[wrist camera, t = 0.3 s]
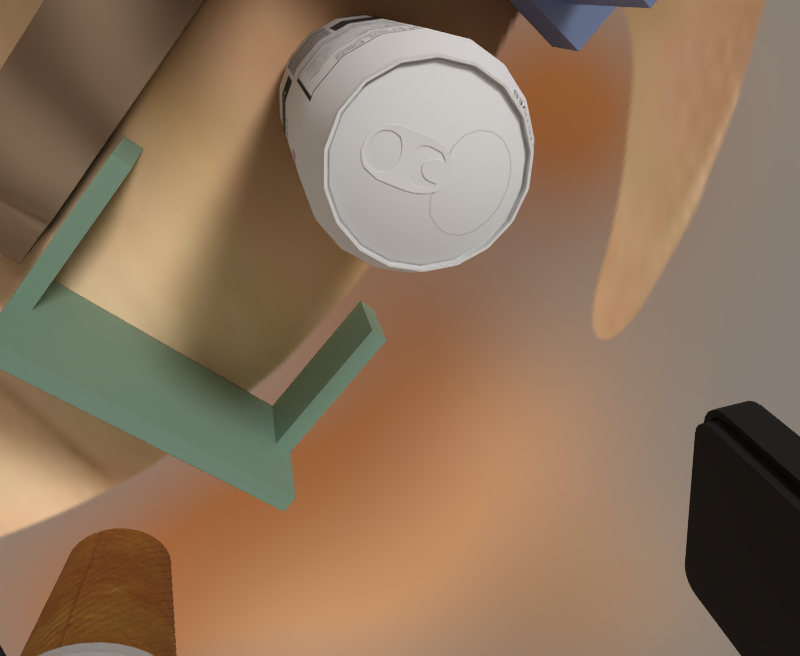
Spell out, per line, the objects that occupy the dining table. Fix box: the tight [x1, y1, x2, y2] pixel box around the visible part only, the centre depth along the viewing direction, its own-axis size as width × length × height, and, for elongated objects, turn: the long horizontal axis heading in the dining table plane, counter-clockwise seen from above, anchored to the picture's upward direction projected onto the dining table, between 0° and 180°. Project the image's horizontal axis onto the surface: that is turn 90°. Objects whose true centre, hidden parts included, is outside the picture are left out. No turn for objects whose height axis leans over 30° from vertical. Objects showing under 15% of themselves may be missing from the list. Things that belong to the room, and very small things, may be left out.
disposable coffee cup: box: [21, 529, 176, 656], centre depth 40 cm, size 10×10×12 cm
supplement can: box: [279, 15, 534, 273], centre depth 29 cm, size 8×8×15 cm
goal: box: [0, 137, 386, 511], centre depth 35 cm, size 10×16×8 cm, turn 50°
